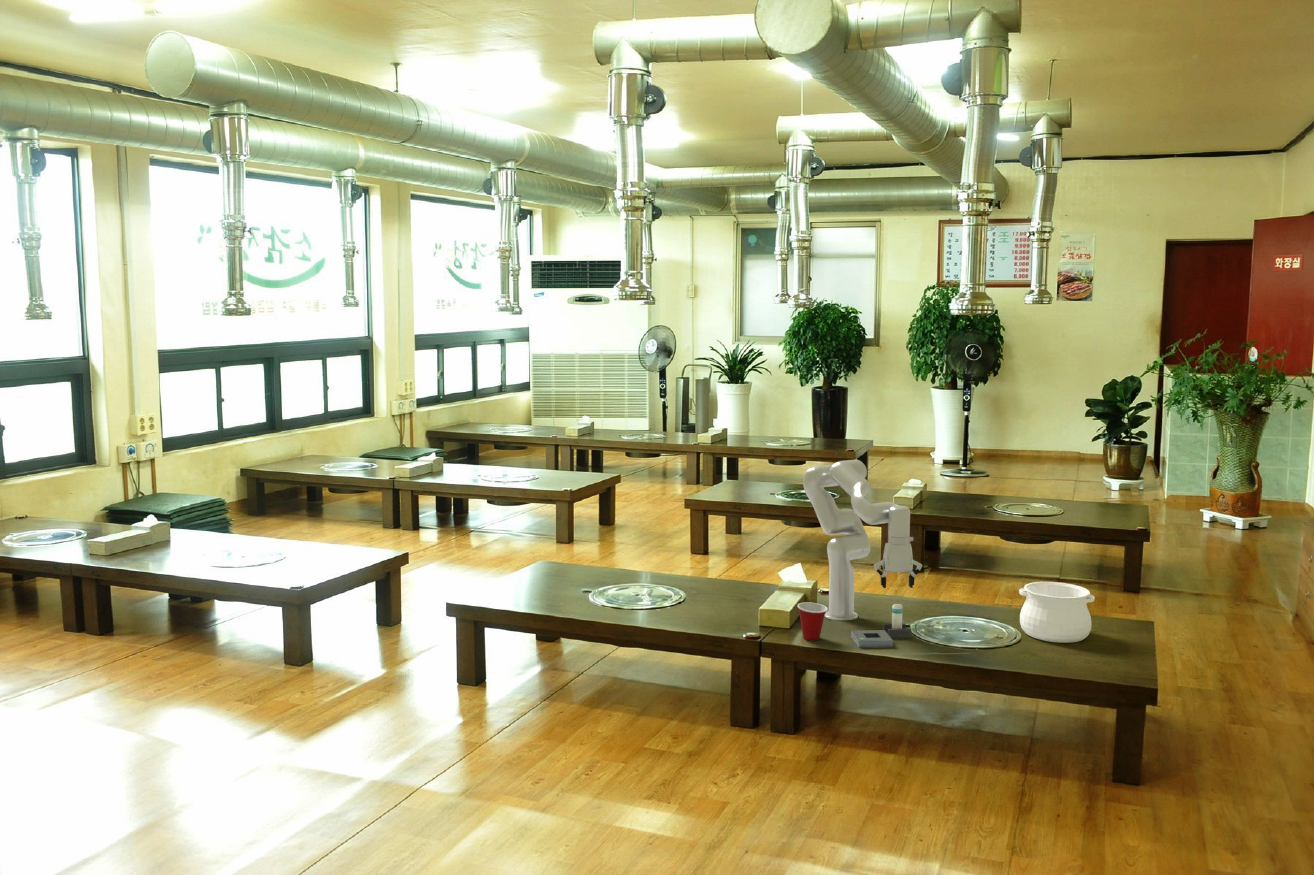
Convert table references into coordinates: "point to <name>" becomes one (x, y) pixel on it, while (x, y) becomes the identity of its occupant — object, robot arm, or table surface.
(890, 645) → the port
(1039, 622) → the pot
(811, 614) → the plastic cup
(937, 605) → the table surface
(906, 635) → the holster
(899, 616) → the white cylinder
